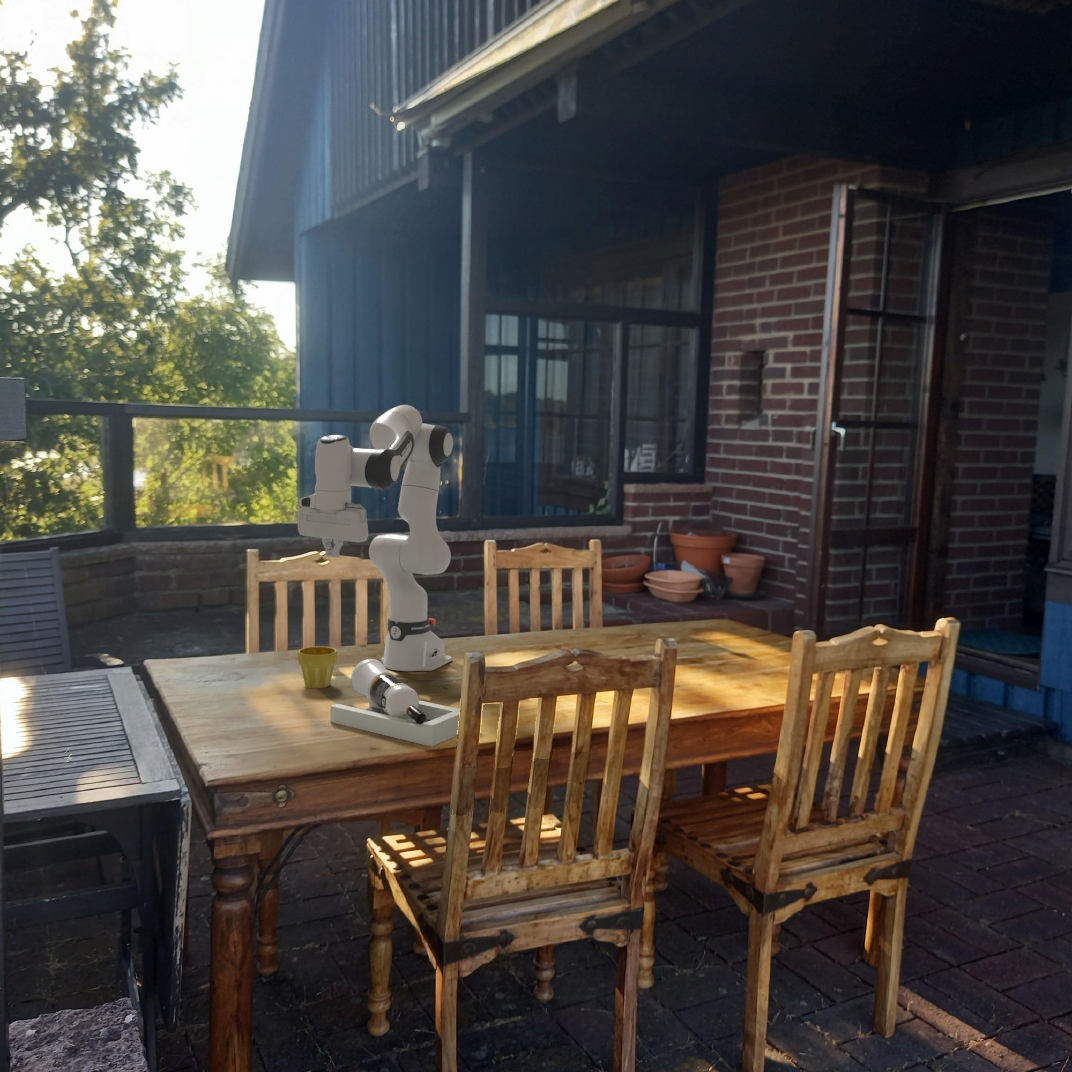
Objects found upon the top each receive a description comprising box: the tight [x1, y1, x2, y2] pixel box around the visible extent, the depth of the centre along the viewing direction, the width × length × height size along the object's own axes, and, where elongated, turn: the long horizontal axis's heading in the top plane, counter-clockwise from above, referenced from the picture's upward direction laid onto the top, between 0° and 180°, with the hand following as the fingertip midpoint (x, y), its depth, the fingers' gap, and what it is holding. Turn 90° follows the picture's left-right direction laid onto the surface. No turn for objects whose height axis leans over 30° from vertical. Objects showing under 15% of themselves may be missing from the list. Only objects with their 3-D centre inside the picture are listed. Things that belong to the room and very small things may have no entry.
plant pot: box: [297, 645, 338, 689], centre depth 284 cm, size 10×10×10 cm
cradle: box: [329, 698, 461, 747], centre depth 251 cm, size 17×30×5 cm, turn 59°
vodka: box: [350, 658, 426, 724], centre depth 252 cm, size 9×9×30 cm
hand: (332, 556), depth 258 cm, fingers closed
